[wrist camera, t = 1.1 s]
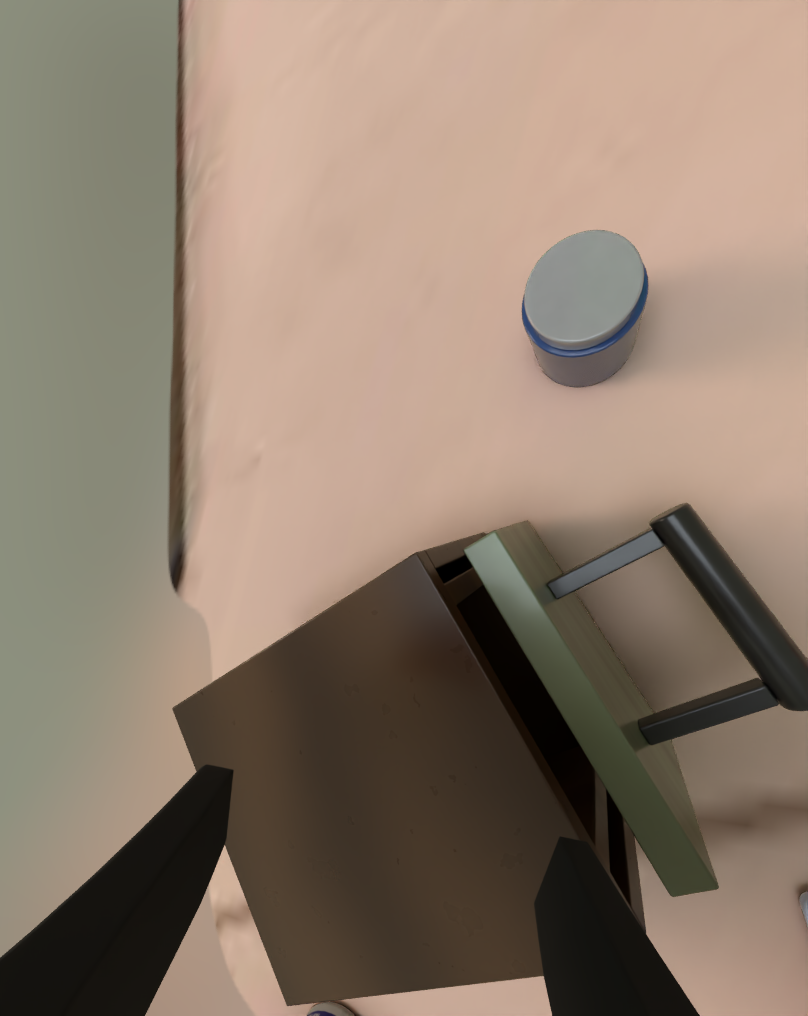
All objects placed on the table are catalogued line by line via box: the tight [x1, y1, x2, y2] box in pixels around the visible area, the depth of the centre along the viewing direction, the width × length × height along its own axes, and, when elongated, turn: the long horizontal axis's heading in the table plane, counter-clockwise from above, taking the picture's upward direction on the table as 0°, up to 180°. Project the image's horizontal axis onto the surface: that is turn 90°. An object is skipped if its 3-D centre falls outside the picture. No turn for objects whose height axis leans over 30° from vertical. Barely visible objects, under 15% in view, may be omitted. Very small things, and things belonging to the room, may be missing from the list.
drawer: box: [444, 503, 808, 897], centre depth 15 cm, size 17×10×7 cm, turn 123°
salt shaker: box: [522, 230, 648, 387], centre depth 15 cm, size 4×4×5 cm
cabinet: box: [173, 532, 646, 1006], centre depth 17 cm, size 13×11×8 cm
